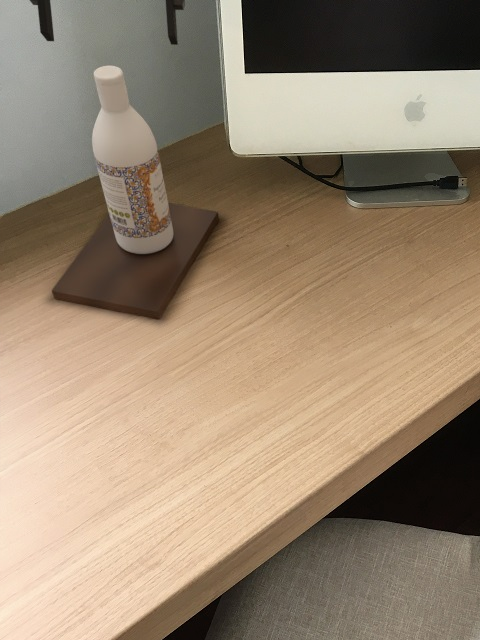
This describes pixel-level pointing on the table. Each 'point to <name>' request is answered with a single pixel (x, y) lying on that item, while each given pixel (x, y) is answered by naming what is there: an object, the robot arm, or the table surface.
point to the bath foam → (129, 169)
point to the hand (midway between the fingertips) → (110, 39)
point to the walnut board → (136, 267)
